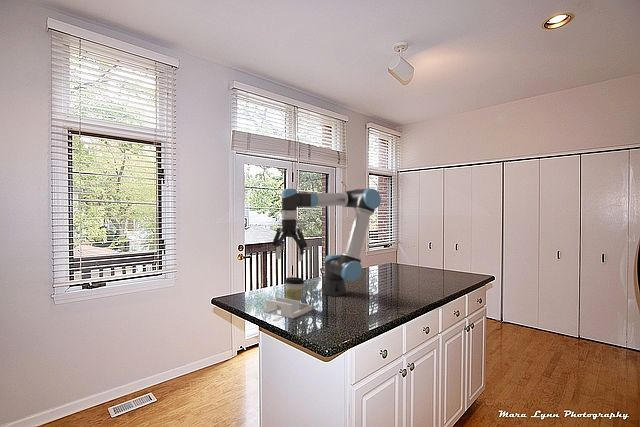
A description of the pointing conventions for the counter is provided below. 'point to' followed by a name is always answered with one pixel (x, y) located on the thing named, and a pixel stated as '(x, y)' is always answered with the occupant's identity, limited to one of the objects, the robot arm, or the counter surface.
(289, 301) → the pusher
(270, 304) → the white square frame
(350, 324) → the counter surface
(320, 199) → the robot arm
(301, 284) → the coffee cup
